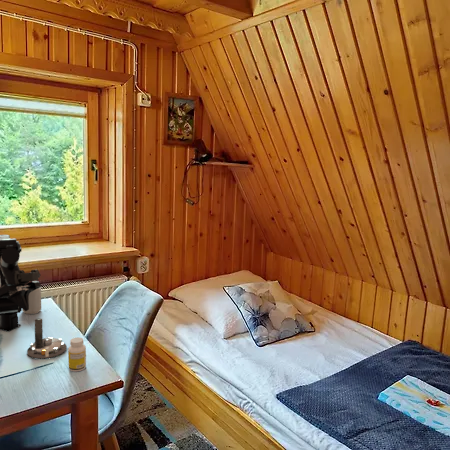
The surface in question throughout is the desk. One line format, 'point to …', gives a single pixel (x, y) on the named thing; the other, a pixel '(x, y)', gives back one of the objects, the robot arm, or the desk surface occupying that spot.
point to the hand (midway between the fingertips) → (27, 310)
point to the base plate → (46, 353)
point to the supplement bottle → (77, 355)
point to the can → (34, 302)
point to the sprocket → (44, 341)
